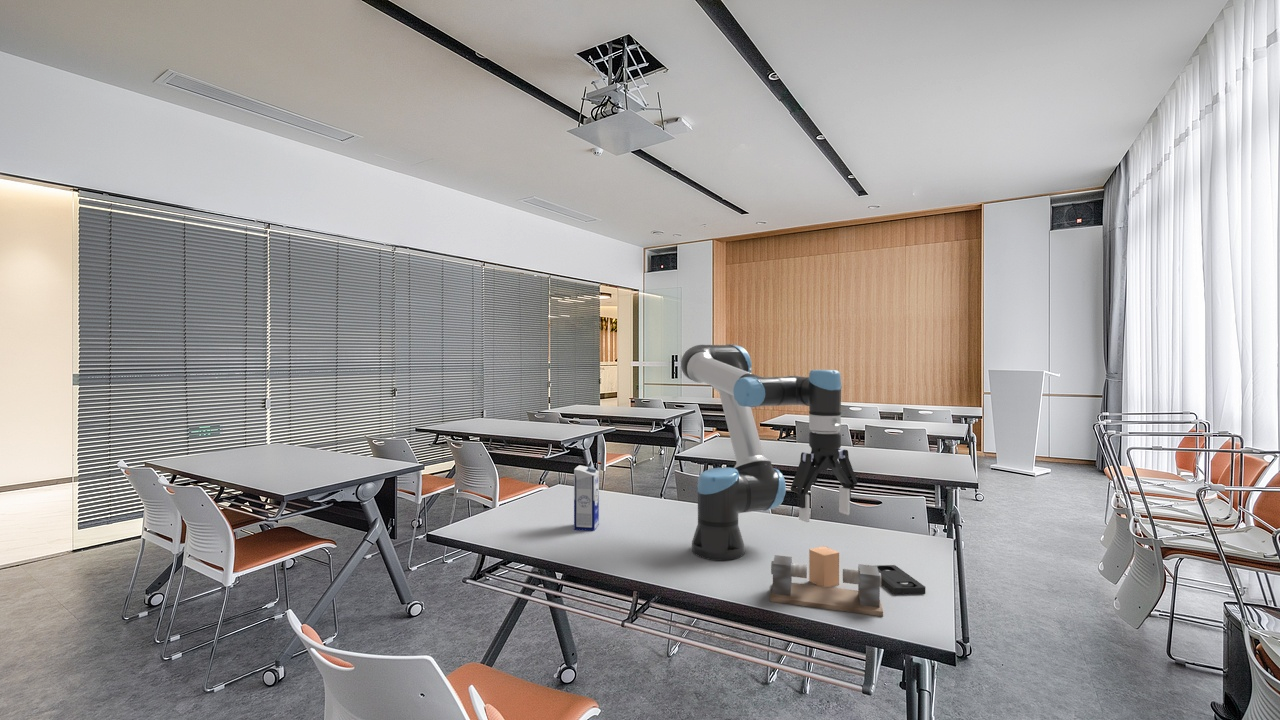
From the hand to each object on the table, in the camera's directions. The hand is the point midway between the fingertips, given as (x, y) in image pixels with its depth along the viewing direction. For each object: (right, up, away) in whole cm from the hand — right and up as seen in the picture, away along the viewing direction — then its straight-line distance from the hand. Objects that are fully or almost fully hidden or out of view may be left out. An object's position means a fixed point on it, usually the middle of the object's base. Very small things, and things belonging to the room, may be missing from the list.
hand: (824, 517), depth 138 cm
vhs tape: (+18, -17, +1) cm, 25 cm away
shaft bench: (-3, -16, -9) cm, 19 cm away
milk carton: (-64, -16, +45) cm, 79 cm away
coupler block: (0, -16, 0) cm, 16 cm away
